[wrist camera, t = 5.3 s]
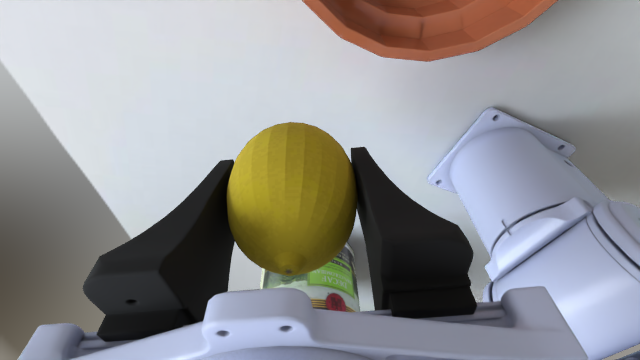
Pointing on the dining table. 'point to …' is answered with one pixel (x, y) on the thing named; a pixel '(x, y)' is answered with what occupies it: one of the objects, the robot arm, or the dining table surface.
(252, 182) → the lemon
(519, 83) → the dining table surface
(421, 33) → the bowl
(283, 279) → the coffee can
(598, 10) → the dining table surface
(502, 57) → the dining table surface
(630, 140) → the dining table surface
